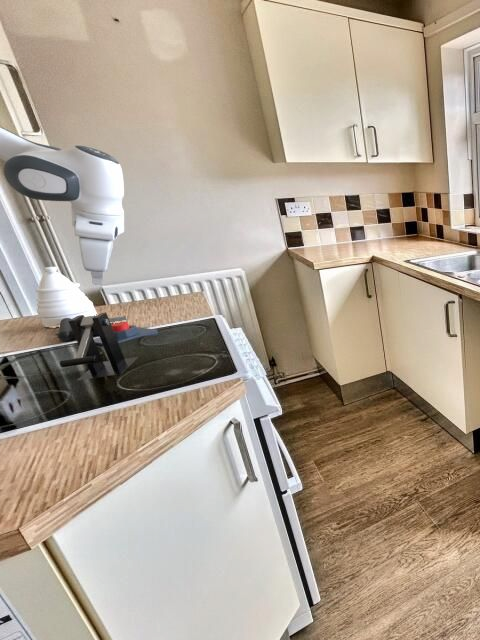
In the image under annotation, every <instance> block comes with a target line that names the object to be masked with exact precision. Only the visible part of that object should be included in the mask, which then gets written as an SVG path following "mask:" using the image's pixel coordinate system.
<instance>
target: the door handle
mask: <svg viewBox="0 0 480 640" xmlns="http://www.w3.org/2000/svg"><path fill="white" fill-rule="evenodd" d="M108 318H109V321H110V322H115V321H122V320H127V316H126V315H124V316H116V317H108ZM69 320H71V318H64V319H62V320H61V322H60V327H59V328H58V332H57V333H56V334H54V336H57V340H59V341H61V342H70V341H71V340H76V338H75V335H74V333H73V331H72V328H71V326H70V324H69ZM127 321H128V320H127ZM57 325H58V324H57ZM94 335H98V336H99V334H98V332H93V334H92V336H93V337H95V336H94ZM53 339H55V337H54V338H53Z"/></svg>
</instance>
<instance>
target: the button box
mask: <svg viewBox="0 0 480 640" xmlns="http://www.w3.org/2000/svg"><path fill="white" fill-rule="evenodd" d="M129 327H130V329H127V330H123V331H117V332H114V333H115V336H116V338H117V341H118V344H120V343H124V342H128V341H130V340H134V339H138V338H141V337H146V336H154V335H159V331H158V329H156V328H149V327H141V326H137V325H134V324H131V325H130V324H129ZM93 339H94V341H95V343H96V345H100V346H103V344H102V341H101V339H100V337H97V338H93Z"/></svg>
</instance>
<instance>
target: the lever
mask: <svg viewBox="0 0 480 640" xmlns="http://www.w3.org/2000/svg"><path fill="white" fill-rule="evenodd" d="M95 316H96V315H95ZM95 316H86V317H83V319H82V322H81V325H80V326H81V327H82V328H83V330H84V333H83V336H82V339H81V342H80V346H79V345H78V349H77V352H76V356H75V357H74V358H69V359H68V358H67V359H61V360H60V361H59V366H60V367H61V368H67V367H68V368H69V367H75V366H82V365H87V364H89V363H96V362H98V357H97V356H89V357H86V354H87V350H88V347H89V344H90V340H91V337H92V334H93V332H97V329H96V327H95V324H94V322H93V319H92V318H93V317H95Z"/></svg>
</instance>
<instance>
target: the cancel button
mask: <svg viewBox="0 0 480 640" xmlns="http://www.w3.org/2000/svg"><path fill="white" fill-rule="evenodd" d="M129 325H130V324H129V322H128V321H127V322H120V323H115V324H111V326H112V328H113V331H114V332H117V331H123V330H127V329H130V327H129Z"/></svg>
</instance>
